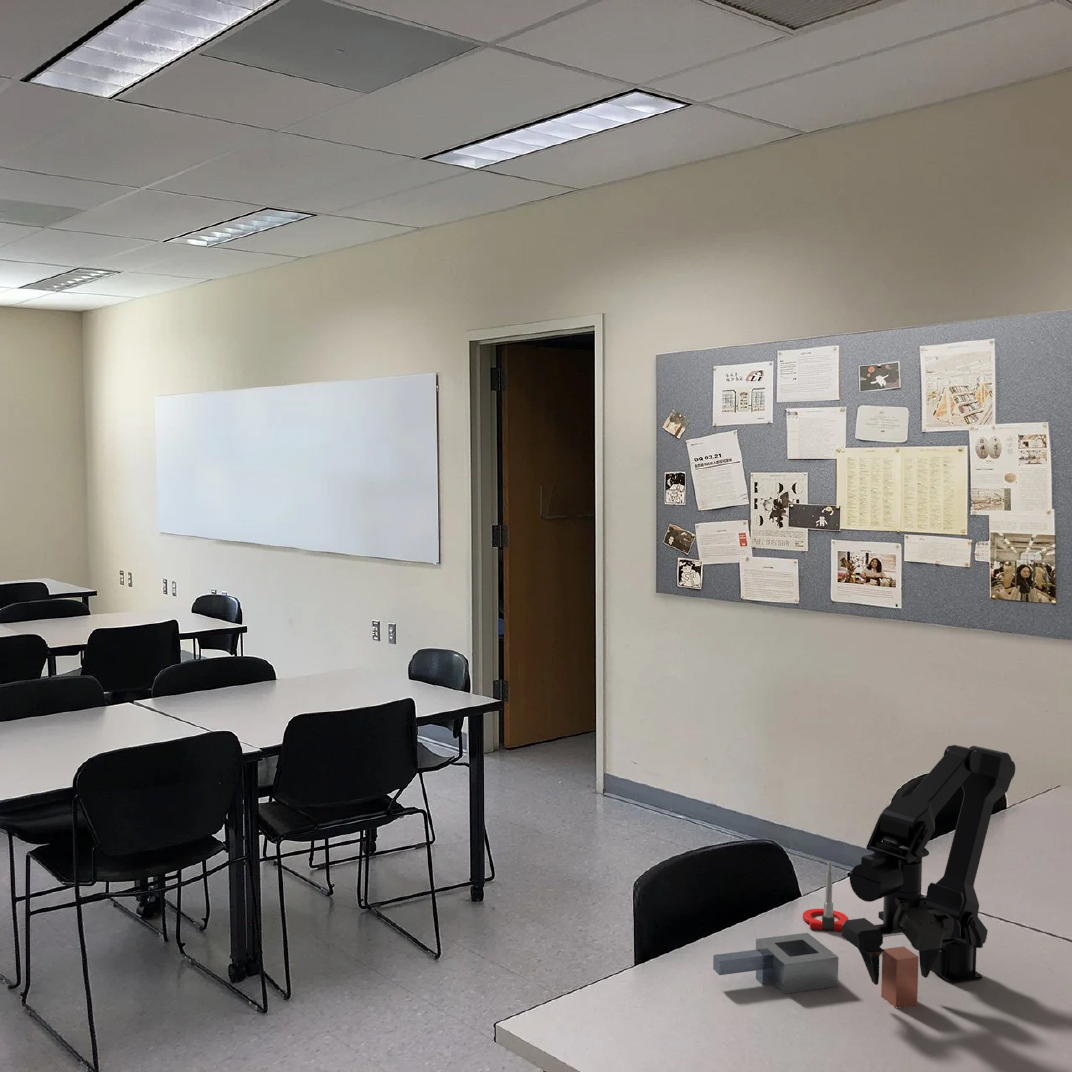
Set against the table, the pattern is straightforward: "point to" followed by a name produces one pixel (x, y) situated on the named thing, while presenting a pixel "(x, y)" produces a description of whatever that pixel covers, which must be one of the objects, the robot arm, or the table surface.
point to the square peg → (899, 976)
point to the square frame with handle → (784, 963)
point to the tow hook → (826, 910)
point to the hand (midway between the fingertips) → (899, 980)
